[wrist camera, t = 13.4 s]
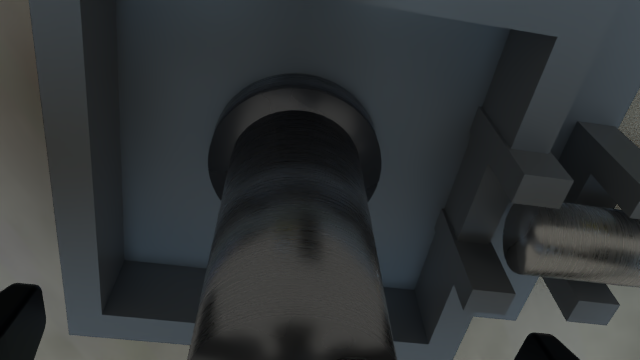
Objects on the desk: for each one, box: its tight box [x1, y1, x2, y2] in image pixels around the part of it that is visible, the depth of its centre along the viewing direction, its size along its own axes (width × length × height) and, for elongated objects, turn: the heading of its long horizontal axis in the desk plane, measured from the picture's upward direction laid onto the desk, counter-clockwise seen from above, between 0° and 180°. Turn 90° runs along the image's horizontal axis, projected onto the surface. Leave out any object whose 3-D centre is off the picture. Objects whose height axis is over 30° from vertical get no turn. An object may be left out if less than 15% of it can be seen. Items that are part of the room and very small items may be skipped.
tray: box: [29, 0, 640, 360], centre depth 14 cm, size 12×15×4 cm
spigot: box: [187, 73, 397, 360], centre depth 12 cm, size 5×5×8 cm
